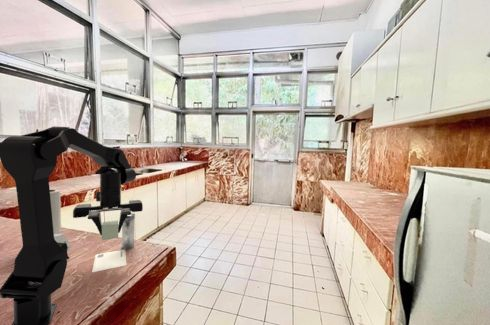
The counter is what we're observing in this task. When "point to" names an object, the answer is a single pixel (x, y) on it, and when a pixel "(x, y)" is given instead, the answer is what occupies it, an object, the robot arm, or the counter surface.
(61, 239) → the die
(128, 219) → the tin
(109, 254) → the letter
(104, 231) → the block
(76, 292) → the counter surface
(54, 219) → the paper towel roll
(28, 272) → the robot arm
